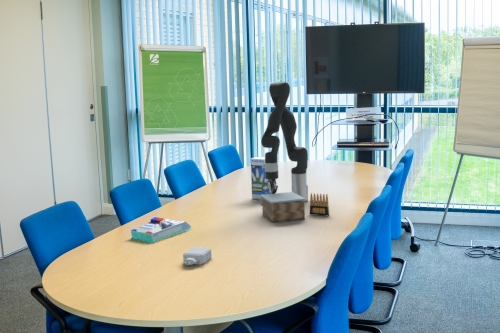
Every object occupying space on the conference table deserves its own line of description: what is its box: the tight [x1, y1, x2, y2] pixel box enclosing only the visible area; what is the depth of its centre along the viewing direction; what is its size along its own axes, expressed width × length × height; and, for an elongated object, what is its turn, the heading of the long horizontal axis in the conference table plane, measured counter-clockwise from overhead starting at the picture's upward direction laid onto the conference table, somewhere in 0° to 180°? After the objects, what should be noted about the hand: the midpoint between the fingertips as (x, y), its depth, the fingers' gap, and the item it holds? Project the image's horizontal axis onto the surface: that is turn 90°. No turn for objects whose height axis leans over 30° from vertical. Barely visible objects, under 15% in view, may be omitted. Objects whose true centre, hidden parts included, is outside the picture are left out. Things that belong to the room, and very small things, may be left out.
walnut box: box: [261, 198, 306, 224], centre depth 315 cm, size 18×18×10 cm
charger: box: [182, 246, 213, 266], centre depth 244 cm, size 5×9×15 cm
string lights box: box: [250, 156, 270, 200], centre depth 364 cm, size 13×8×26 cm, turn 62°
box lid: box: [259, 191, 306, 207], centre depth 315 cm, size 19×20×6 cm
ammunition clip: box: [309, 192, 330, 216], centre depth 317 cm, size 11×2×12 cm, turn 65°
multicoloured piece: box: [130, 217, 192, 243], centre depth 292 cm, size 17×30×9 cm, turn 145°
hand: (272, 199), depth 333 cm, fingers closed
